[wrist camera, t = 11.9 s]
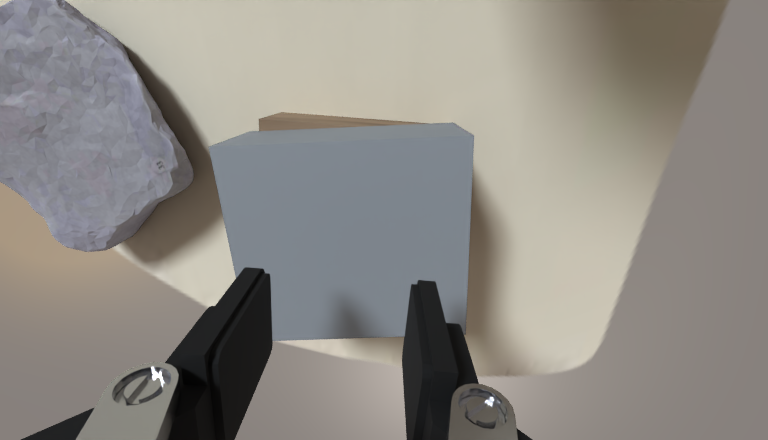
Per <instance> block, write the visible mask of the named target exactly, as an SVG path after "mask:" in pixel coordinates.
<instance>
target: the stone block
mask: <svg viewBox="0 0 768 440" xmlns="http://www.w3.org/2000/svg"><path fill="white" fill-rule="evenodd" d="M193 176H194V172H193V168H192V165H191V163H190V161H189V159H188V157H187V155H186V152H185V149H184V148H183V147H182V146H181V145H180V143H179V142H178V140H177V138H176V136H175V134H174V133H173V131H172V130H171V129H170V128H169V126H168V125H167V123H166V122H165V120H164V119H163V116H162V113H161V110H160V109H159V108H158V105H157V103H156V102H155V101H154V99H153V98H152V96H151V94H150V93H149V91H148V90H147V88H146V86H145V84H144V82H143V80H142V78H141V77H140V75H139V74H138V72H137V71H136V69H135V68H134V66H133V64H132V63H131V62H130V60H129V57H128V54H127V52H126V51H125V49H124V47H123V45H122V44H121V43H120V41H119V40H118V39H117V38H115V37H114V36H112V35H111V34H109V33H108V32H106V31H105V30H103V29H102V28H100V27H99V26H97V25H96V24H94V23H93V22H92V21H90V20H89V19H88V18H86V17H85V16H83V15H82V14H81V13H80V12H79V11H78V10H77V9H76V8H74V7H73V6H71V5H70V4H69V3H67V2H66V1H65V0H12V1H9V2H8V3H6V4H5V5H2V6H1V7H0V182H1V183H3V184H5V185H7V186H8V187H9V188H11V189H12V190H14V191H15V192H17V193H18V194H19V195H21V196H22V197H23V198H24V199H25V200H27V201H28V202H29V204H30V205H31V207H32V208H33V209H34V210H35V211H36V212H37V213H38V214H40V215H41V216H42V217H44V219H45V221H46V222H47V225H48V227H49V229H50V231H51V233H52V236H53V237H54V238H55V239H56V240H57V241H58V242H60V243H61V244H62V245H64V246H66V247H68V248H73V249H76V250H81V251H85V252H88V251H90V252H92V251H103V250H107V249H110V248H112V247H114V246H116V245H118V244H119V243H121V242H123V241H124V240H126V239H128V238H130V237H132V236H133V235H134V234H135V233H136V232H137V231H138V229H139V228H140V227H141V225H142V223H143V222H144V221H145V220H146V219H147V218H148V217H149V216H150V215H151V213H152V212H153V211H154V209H155V208H156V206H157V204H158V203H159V202H161V201H163V200H165V199H167V198H169V197H172V196H174V195H176V194H177V193H179V192H181V191H182V190H184V189H186V188H187V187H188V186H189V185H190V184H191V183H192V181H193Z"/></svg>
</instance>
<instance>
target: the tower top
mask: <svg viewBox="0 0 768 440" xmlns="http://www.w3.org/2000/svg"><path fill="white" fill-rule="evenodd" d="M473 148H474V135H472V134H471V133H469V132H468V131H466V130H464V129H463V128H461V127H459V126H458V125H456V124H455V123H434V124H411V125H388V126H365V127H342V128H319V129H297V130H274V131H251V132H247V133H244V134H242V135H239V136H236V137H234V138H231V139H228V140H226V141H223V142H220V143H218V144H215V145H212V146H210V147H209V151H210V156H211V161H212V166H213V170H214V175H215V180H216V185H217V189H218V194H219V199H220V204H221V209H222V213H223V218H224V223H225V228H226V232H227V237H228V242H229V247H230V251H231V256H232V261H233V266H234V270H235V275H236V278H237V277H238V275H239V274H240V273H241V271H242V270H243V269H244V268H245V267H250V268H263V269H264V271H265V273H269V274H270V278H271V310H272V341H283V340H314V339H344V338H374V337H404V336H405V329H406V321H407V313H408V305H409V297H410V289H411V284H417V282H418V280H425V281H435V282H436V285H437V289H438V293H439V297H440V301H441V305H442V309H443V313H444V317H445V321H446V323H456V324H460V325H461V328H462V331H463V334H464V335H465V334H466V312H467V288H468V265H469V242H470V218H471V195H472V171H473Z"/></svg>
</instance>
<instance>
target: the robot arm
mask: <svg viewBox="0 0 768 440" xmlns="http://www.w3.org/2000/svg"><path fill="white" fill-rule="evenodd" d="M271 350H272V310H271V278H270V274H269V273H265V271H264V269H263V268H250V267H245V268H244V269H243V270H242V271H241V273H240V274H239V275H238V277H237V278H236V279H235V281H234V282H233V283H232V285H231V286H230V287H229V289H228V290H227V291H226V292H225V294H224V295H223V296H222V298H221V299H220V300H219V302H218V303H217V304H216V306H211V307H209V308H208V309H207V310H206V311H205V312H204V314H203V315H202V316H201V318H200V319H199V320H198V321H197V322H196V324H195V325H194V326H193V328H192V329H191V330H190V331H189V333H188V334H187V335H186V337H185V338H184V339H183V340H182V342H181V343H180V344H179V345H178V347H177V348H176V349H175V351H174V352H173V353H172V354H171V356H170V357H169V358H168V360H167V361H166V362H165V363H160V362H153V363H148V364H142V365H139V366H137V367H134V368H131V369H129V370H127V371H126V372H124V373H122V374H120V375H119V376H118V377H117V378H115V379H114V380H113V381H112V382H111V383H110V384H109V386H108V387H107V388H106V390H105V391H104V393H103V395H102V396H101V398H100V400H99V401H98V403H97V405H96V406H95V408H92V409H90V410H88V411H85V412H83V413H81V414H79V415H76V416H74V417H72V418H69V419H67V420H65V421H63V422H60V423H58V424H56V425H53V426H51V427H49V428H47V429H44V430H42V431H40V432H37V433H35V434H33V435H30V436H28V437H26V438H24V439H21V440H234V439H235V437H236V435H237V432H238V430H239V428H240V425H241V423H242V420H243V418H244V416H245V413H246V411H247V408H248V406H249V404H250V401H251V399H252V397H253V394H254V392H255V390H256V387H257V385H258V382H259V380H260V378H261V375H262V373H263V371H264V368H265V366H266V363H267V361H268V359H269V356H270V354H271ZM402 366H403V383H404V399H405V416H406V433H407V440H532V439H531V438H529V437H528V436H527V435H525V434H524V433H522V432H521V431H520V430H518V429H517V428H516V420H515V414H514V411H513V407H512V406H511V404H510V403H509V401H508V400H507V399H506V398H505V397H504V396H503V395H502V394H501V393H499V392H498V391H496V390H494V389H493V388H491V387H488V386H485V385H482V384H479V383H478V379H477V376H476V373H475V370H474V366H473V363H472V360H471V357H470V353H469V350H468V347H467V344H466V341H465V337H464V334H463V331H462V328H461V325H460V324H456V323H446V321H445V317H444V313H443V309H442V305H441V301H440V297H439V293H438V289H437V285H436V282H435V281H425V280H418V282H417V284H411V289H410V297H409V305H408V313H407V321H406V329H405V337H404V345H403V355H402Z"/></svg>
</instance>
